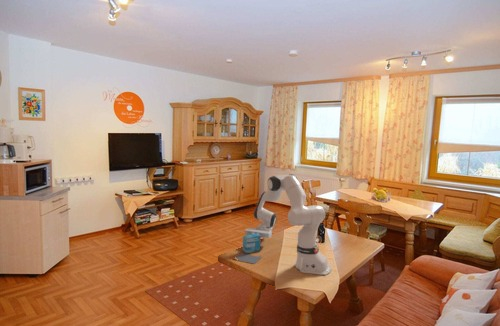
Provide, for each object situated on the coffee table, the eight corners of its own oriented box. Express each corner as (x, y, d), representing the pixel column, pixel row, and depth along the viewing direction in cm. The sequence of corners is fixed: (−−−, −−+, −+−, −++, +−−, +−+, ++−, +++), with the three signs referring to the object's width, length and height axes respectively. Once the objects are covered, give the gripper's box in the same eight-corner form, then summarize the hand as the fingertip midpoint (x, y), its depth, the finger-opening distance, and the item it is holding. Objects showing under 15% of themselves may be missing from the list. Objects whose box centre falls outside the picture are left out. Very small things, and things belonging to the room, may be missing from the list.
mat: (261, 257, 210) (261, 257, 210) (254, 264, 200) (254, 263, 200) (239, 253, 217) (239, 252, 217) (232, 259, 208) (232, 259, 208)
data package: (244, 253, 216) (245, 238, 214) (242, 251, 220) (242, 235, 218) (260, 250, 221) (260, 235, 219) (257, 248, 225) (257, 232, 223)
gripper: (249, 224, 240) (240, 230, 228) (273, 228, 230) (266, 234, 218) (249, 232, 241) (241, 238, 228) (273, 236, 231) (266, 242, 219)
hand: (253, 236), depth 223 cm, fingers closed
